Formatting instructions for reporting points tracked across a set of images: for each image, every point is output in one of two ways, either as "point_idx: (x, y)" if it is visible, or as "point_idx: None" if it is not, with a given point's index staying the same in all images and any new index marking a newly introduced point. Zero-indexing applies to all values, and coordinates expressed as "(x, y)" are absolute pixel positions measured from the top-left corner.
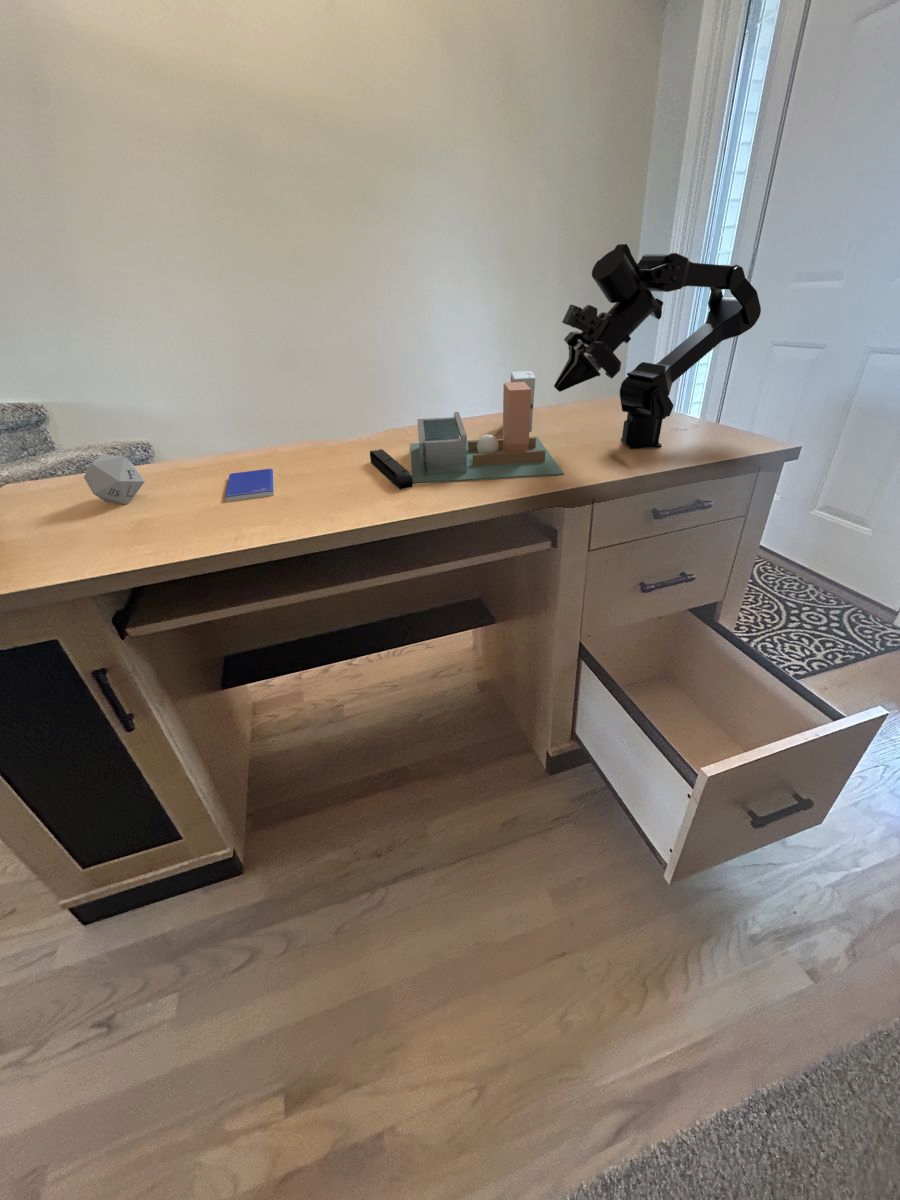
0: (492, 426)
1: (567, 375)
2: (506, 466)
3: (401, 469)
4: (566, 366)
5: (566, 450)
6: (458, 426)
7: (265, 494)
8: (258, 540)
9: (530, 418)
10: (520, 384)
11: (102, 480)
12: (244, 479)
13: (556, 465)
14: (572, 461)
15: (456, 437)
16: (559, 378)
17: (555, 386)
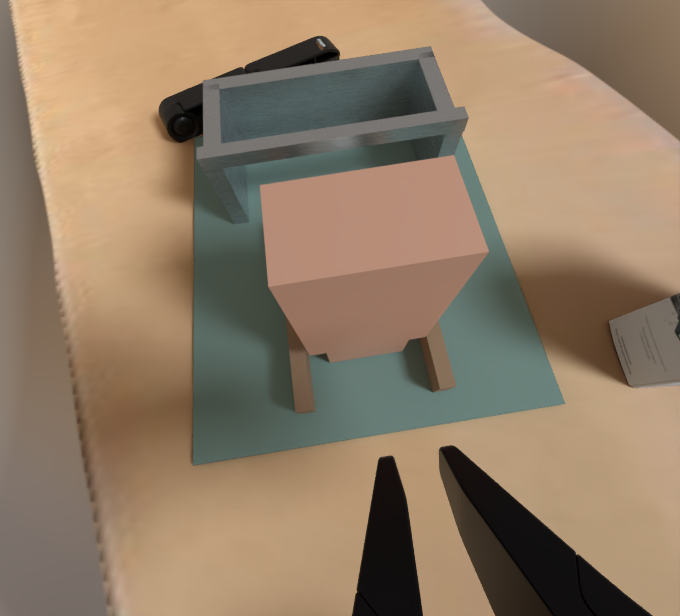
0: (667, 264)
1: (360, 571)
2: (267, 308)
3: (189, 100)
4: (562, 605)
5: (427, 500)
6: (292, 133)
7: None
8: (32, 20)
9: (668, 375)
10: (408, 232)
11: None
12: None
13: (261, 448)
14: (311, 508)
15: None
16: (465, 492)
17: (440, 455)
